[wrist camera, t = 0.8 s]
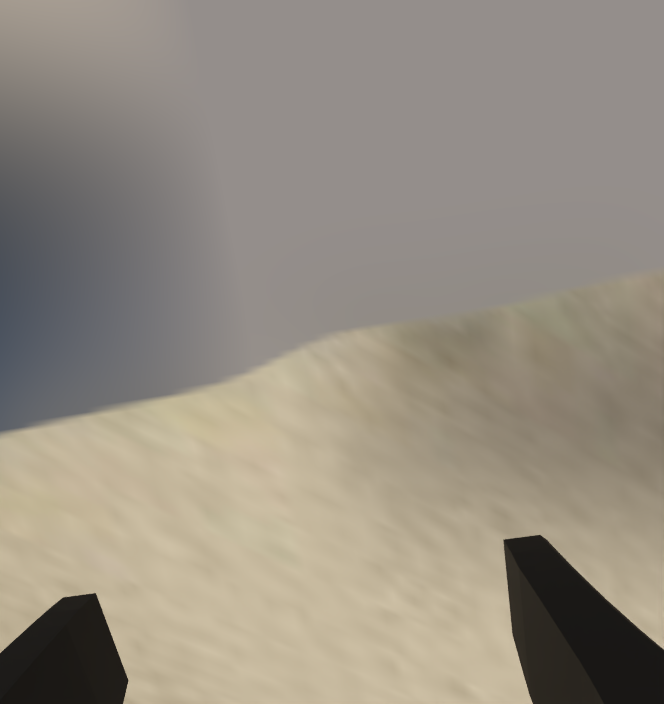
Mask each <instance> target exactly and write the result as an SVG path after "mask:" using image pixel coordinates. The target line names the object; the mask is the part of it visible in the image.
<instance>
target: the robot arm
mask: <svg viewBox="0 0 664 704" xmlns="http://www.w3.org/2000/svg"><path fill="white" fill-rule="evenodd" d="M504 550H505V560H506V571H507V581H508V591H509V602H510V612H511V622H512V633H513V637H514V641H515V645H516V648H517V652H518V656H519V659H520V663H521V666H522V670H523V673H524V677H525V680H526V684H527V687H528V691H529V694H530V697H531V700H532V702H533V704H664V650H663V649H662V648H661V647H660V646H659V645H657V644H656V643H655V642H654V641H653V640H651V639H650V638H649V637H648V636H647V635H646V634H644V633H643V632H642V631H641V630H640V629H639V628H637V627H636V626H635V625H634V624H633V623H632V622H631V621H630V620H629V619H627V618H626V617H625V616H624V615H623V614H622V613H621V612H620V611H619V610H617V609H616V608H615V607H614V606H613V605H612V604H611V603H610V602H609V601H607V600H606V599H605V598H604V597H603V596H602V595H601V594H600V593H599V592H598V591H597V590H596V589H595V588H594V587H593V586H592V585H591V584H590V583H589V582H587V581H586V580H585V579H584V578H583V577H582V576H581V575H580V574H579V573H578V572H577V571H576V570H575V569H574V568H573V567H572V566H571V565H570V564H569V563H568V562H567V561H566V560H565V559H564V557H563V556H562V555H561V554H560V553H559V552H558V551H557V550H556V549H555V548H554V547H553V546H552V545H551V544H550V543H549V542H548V541H547V540H546V539H545V538H544V537H542V536H541V535H536V536H528V537H521V538H513V539H506V540H504ZM127 684H128V678H127V676H126V673H125V670H124V668H123V665H122V662H121V660H120V657H119V654H118V652H117V649H116V646H115V644H114V641H113V638H112V636H111V633H110V630H109V628H108V625H107V622H106V619H105V617H104V614H103V611H102V609H101V606H100V603H99V601H98V598H97V595H96V593H94V594H86V595H79V596H71V597H64V598H62V599H61V600H60V601H58V602H57V603H56V604H55V605H53V606H52V607H51V608H50V609H49V610H48V611H46V612H45V613H44V614H43V615H42V616H41V617H40V618H38V619H37V620H36V621H35V622H34V623H33V624H32V625H31V626H29V627H28V628H27V629H26V630H25V631H24V632H23V633H22V634H21V635H20V636H19V637H17V638H16V639H15V640H14V641H13V642H12V643H11V644H10V645H9V646H8V647H7V648H5V649H4V650H3V651H2V652H1V653H0V704H123V701H124V697H125V693H126V688H127Z"/></svg>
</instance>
